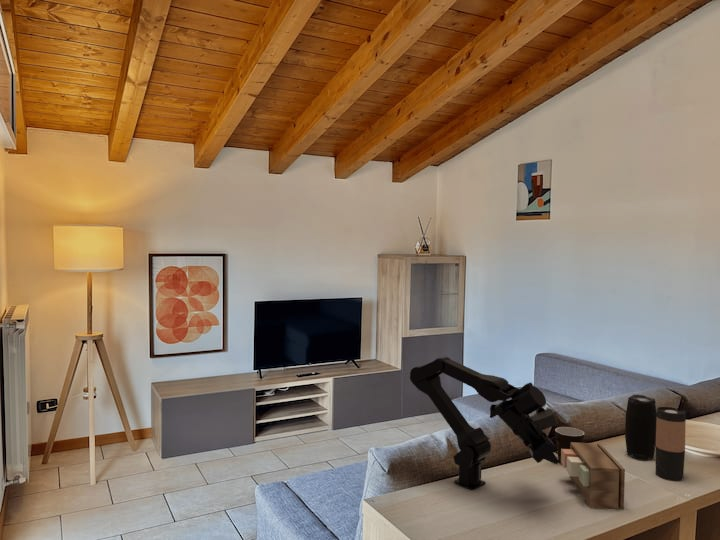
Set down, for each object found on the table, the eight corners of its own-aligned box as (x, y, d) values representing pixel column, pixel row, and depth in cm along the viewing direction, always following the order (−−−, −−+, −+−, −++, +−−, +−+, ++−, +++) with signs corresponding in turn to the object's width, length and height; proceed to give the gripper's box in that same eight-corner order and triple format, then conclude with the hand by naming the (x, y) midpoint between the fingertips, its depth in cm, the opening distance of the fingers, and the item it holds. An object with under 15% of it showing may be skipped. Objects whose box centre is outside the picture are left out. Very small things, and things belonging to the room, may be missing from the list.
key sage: (583, 486, 142) (583, 471, 142) (579, 479, 146) (579, 465, 146) (607, 487, 141) (607, 472, 141) (602, 480, 145) (602, 466, 145)
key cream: (570, 476, 148) (570, 462, 148) (566, 470, 152) (566, 456, 152) (593, 477, 147) (593, 463, 147) (588, 471, 151) (588, 457, 151)
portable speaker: (662, 460, 174) (663, 400, 173) (638, 462, 171) (639, 402, 171) (641, 450, 182) (643, 393, 181) (618, 452, 180) (620, 395, 179)
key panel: (590, 507, 140) (591, 467, 140) (569, 477, 159) (570, 442, 159) (623, 509, 140) (624, 469, 139) (599, 479, 158) (599, 443, 158)
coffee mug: (578, 458, 175) (579, 427, 174) (587, 468, 166) (588, 436, 166) (542, 456, 176) (542, 426, 176) (548, 466, 167) (549, 435, 167)
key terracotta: (564, 467, 154) (564, 453, 154) (560, 462, 158) (561, 448, 158) (586, 468, 153) (586, 454, 153) (582, 463, 157) (582, 449, 157)
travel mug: (656, 478, 159) (658, 412, 158) (653, 469, 166) (655, 405, 165) (686, 483, 156) (688, 415, 155) (681, 473, 163) (683, 408, 163)
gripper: (548, 410, 135) (591, 456, 135) (531, 391, 154) (569, 431, 153) (515, 439, 136) (558, 485, 136) (502, 417, 155) (540, 456, 154)
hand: (557, 462), depth 145 cm, fingers closed
